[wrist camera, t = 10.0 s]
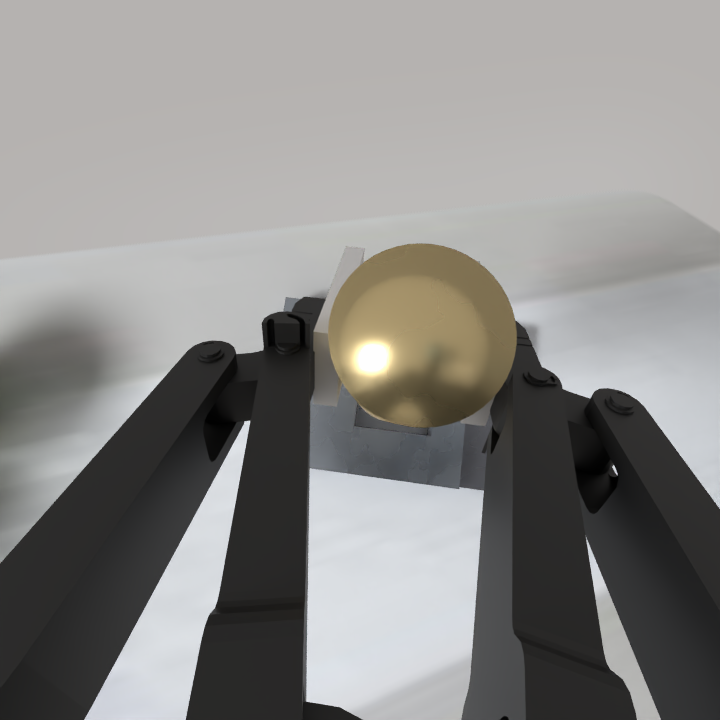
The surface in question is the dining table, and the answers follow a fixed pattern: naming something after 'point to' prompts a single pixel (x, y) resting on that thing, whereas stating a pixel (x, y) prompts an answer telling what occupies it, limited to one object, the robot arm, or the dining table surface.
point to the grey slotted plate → (381, 445)
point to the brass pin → (422, 335)
